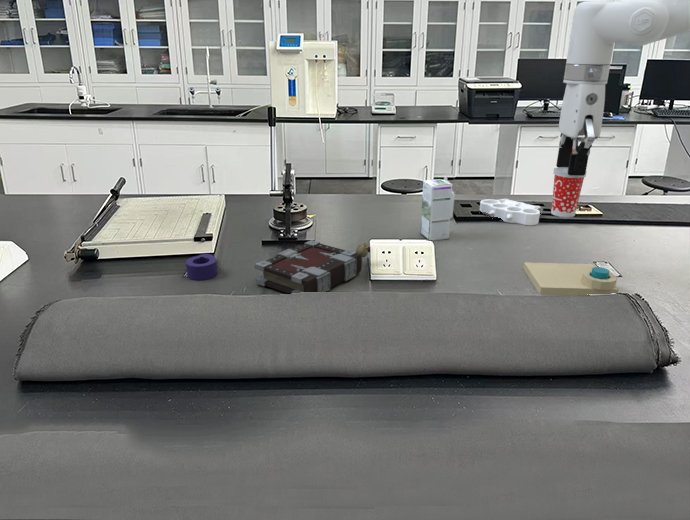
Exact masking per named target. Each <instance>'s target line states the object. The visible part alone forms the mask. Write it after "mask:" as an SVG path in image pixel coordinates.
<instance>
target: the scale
mask: <svg viewBox="0 0 690 520" xmlns="http://www.w3.org/2000/svg"><path fill="white" fill-rule="evenodd" d="M594 267H597V266H596V265H595V264H594V263H570V262H569V263H567V262H566V263H563V262H562V263H561V262H529V261H528V262H523V267H522V270H523V271H524V273H525V274H526V276H527V277H528V279H529V280H530V282H531V283H532V285H533V286H534V289H536V291H537V292H538V294H539V295H540V296H541V295H544V296H545V295H546V296H547V295H548V296H577V295H587V294H588V295H589V294H611V293H618V292H619V289H618V288H617V286H616V284H617V280H618V277H617V276H616V275H615V274H614V273H611V272H609V277H608V279H597V278H594V277H592V276H591V272H592V268H594Z"/></svg>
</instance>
